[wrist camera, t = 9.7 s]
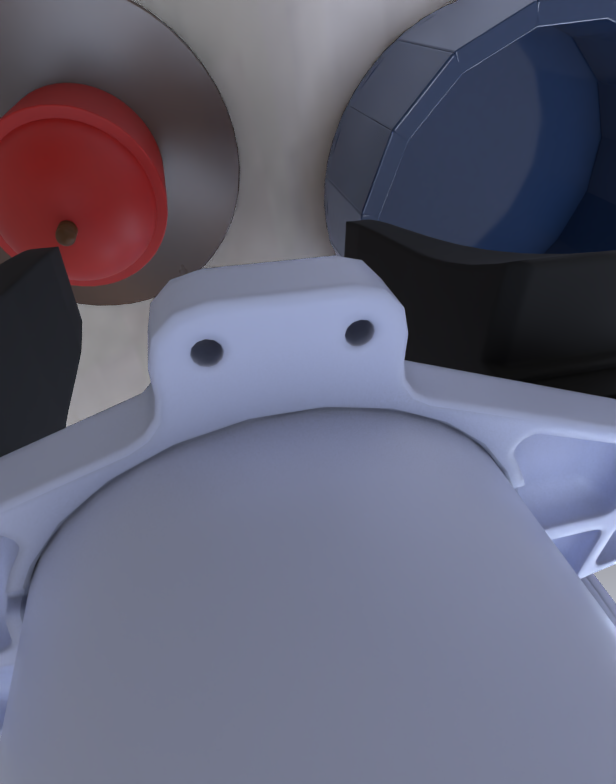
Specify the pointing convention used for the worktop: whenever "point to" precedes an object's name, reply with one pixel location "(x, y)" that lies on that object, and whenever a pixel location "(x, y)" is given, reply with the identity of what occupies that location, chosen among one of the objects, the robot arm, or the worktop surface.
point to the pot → (486, 130)
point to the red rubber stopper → (81, 182)
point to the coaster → (149, 101)
